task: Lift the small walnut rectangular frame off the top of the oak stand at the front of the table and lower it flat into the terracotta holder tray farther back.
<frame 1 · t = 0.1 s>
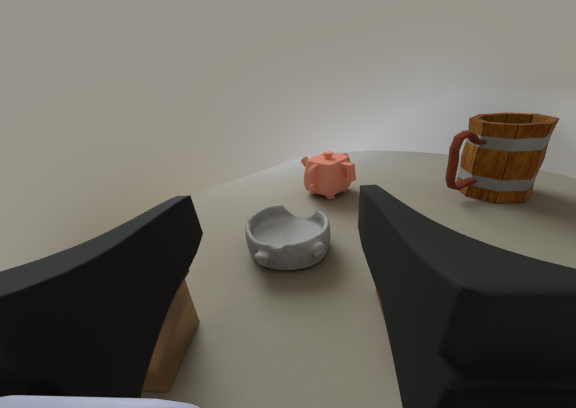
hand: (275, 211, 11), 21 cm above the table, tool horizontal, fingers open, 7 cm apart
stand: (164, 352, 29), on the table
mug: (479, 193, 56), on the table
teapot: (327, 190, 64), on the table
dish: (288, 248, 44), on the table
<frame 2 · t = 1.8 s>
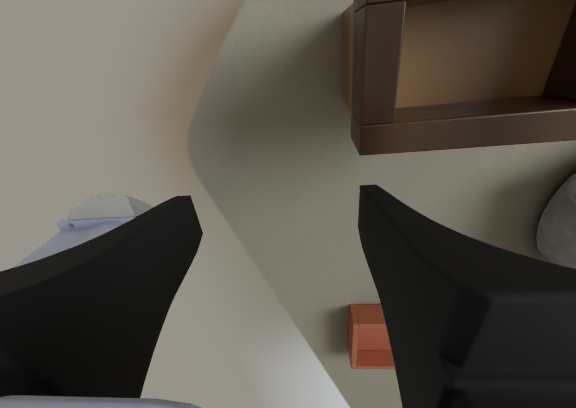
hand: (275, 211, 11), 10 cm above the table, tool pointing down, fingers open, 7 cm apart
holder: (398, 327, 31), on the table
stand: (405, 51, 17), on the table
frame: (467, 54, 10), point 7 cm above the table, touching stand
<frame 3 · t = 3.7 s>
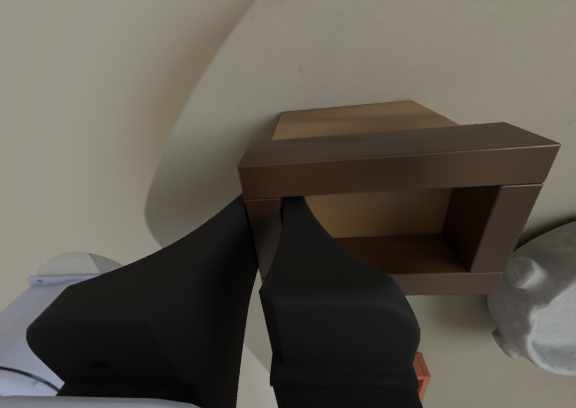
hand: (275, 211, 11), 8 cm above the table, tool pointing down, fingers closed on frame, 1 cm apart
holder: (365, 372, 32), on the table
stand: (344, 145, 17), on the table
frame: (366, 202, 11), point 7 cm above the table, touching gripper, stand
dish: (564, 270, 22), on the table
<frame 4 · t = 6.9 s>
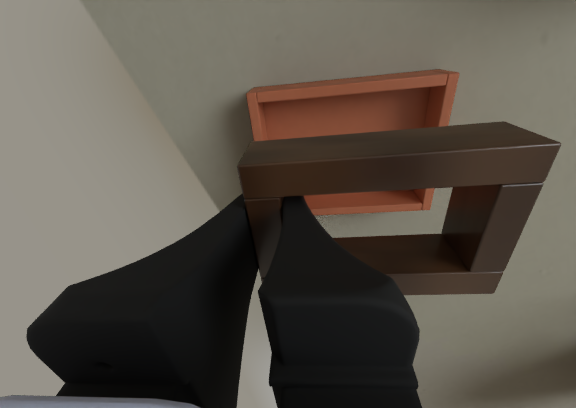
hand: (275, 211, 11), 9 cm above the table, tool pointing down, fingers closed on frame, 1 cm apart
holder: (342, 145, 19), on the table
frame: (367, 202, 11), point 9 cm above the table, touching gripper
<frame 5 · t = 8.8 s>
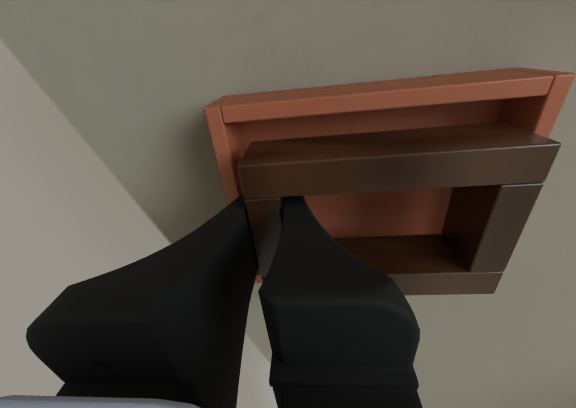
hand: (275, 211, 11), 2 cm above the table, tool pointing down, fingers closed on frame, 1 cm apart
holder: (358, 179, 13), on the table
frame: (366, 202, 11), point 2 cm above the table, touching gripper
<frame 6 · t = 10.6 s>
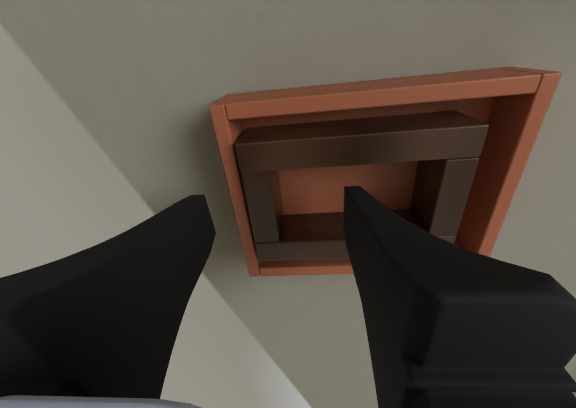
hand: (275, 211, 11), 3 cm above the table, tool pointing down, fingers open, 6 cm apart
holder: (356, 175, 13), on the table
frame: (345, 180, 13), resting on holder
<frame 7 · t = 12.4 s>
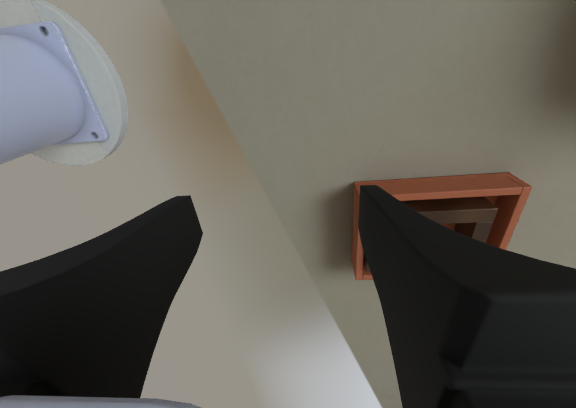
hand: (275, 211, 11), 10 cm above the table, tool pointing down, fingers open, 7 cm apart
holder: (420, 222, 23), on the table
frame: (415, 225, 23), resting on holder
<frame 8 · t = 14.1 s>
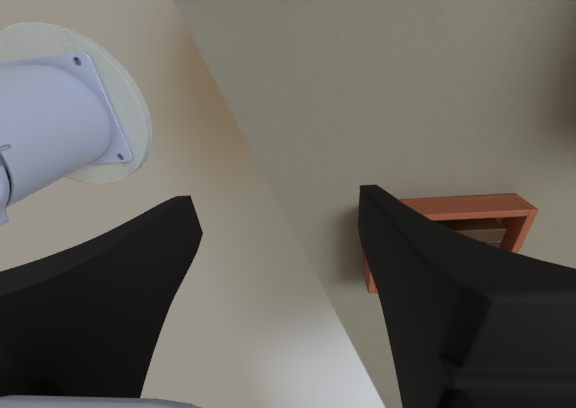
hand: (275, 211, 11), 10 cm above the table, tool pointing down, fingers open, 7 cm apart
holder: (430, 238, 24), on the table
frame: (425, 241, 24), resting on holder
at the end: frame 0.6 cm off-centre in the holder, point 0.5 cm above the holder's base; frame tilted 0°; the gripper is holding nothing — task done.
